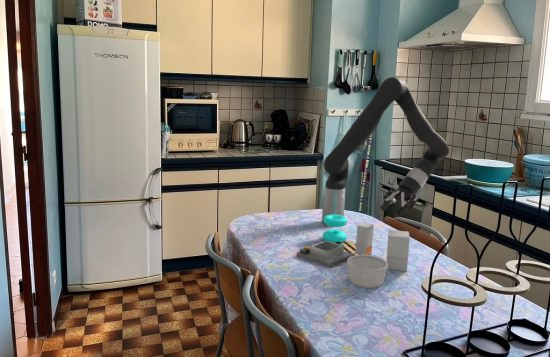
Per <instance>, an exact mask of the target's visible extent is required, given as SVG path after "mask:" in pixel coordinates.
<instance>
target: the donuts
mask: <svg viewBox="0 0 550 357" xmlns="http://www.w3.org/2000/svg"><path fill="white" fill-rule="evenodd" d="M323 221H324V223H325V224H324V223H323V224H324V225H326V226H328V227H331V228H342V227H344V226H345V227H346V225H347V223H348V218H347V217H346V216H345V215H344V216H342V215H327V216H325V217H324V219H323ZM322 239H323V241H325V240H327V241H330V242H341V243H344V242H345V241H346V240H347V234H346V233H345V231H342V230H339V229H328V230H325V231H324V232H323V233H322ZM343 241H344V242H343Z"/></svg>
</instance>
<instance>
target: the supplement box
mask: <svg viewBox="0 0 550 357" xmlns="http://www.w3.org/2000/svg"><path fill="white" fill-rule="evenodd" d="M410 237H411V236H410V231H406V230H404V231H403V230H394V229H388V234H387V246H386V247H387V249H386V250H387V252H386V262H387V264H388V268H387V270H391V271H399V272H401V271H402V272H407V271H408V264H409V262H408V260H409V252H410V251H409V250H410V239H411V238H410Z"/></svg>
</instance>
